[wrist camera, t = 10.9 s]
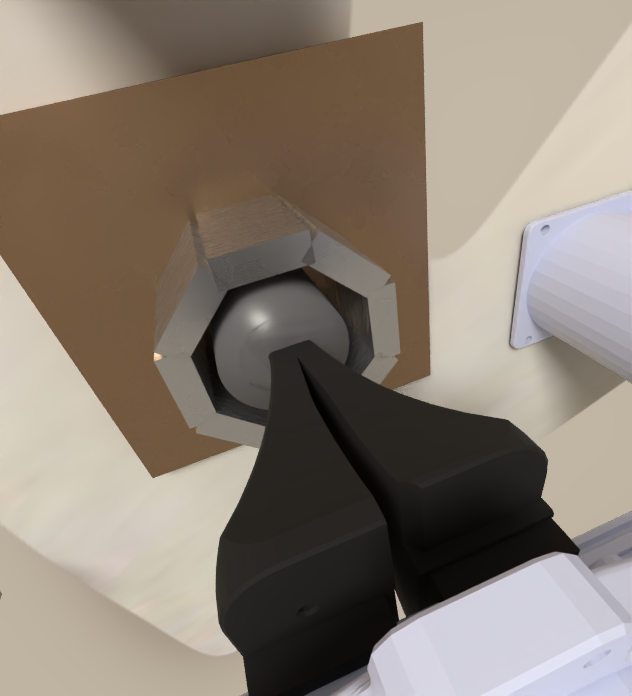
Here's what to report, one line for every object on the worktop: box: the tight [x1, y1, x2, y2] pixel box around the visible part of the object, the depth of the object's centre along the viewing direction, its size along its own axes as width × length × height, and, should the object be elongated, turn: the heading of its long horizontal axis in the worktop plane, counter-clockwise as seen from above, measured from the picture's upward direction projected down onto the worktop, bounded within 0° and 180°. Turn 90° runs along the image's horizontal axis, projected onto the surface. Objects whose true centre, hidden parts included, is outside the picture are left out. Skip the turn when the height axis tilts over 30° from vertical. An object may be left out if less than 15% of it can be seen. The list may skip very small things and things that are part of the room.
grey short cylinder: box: [209, 267, 349, 410], centre depth 15 cm, size 4×4×5 cm
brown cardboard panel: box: [0, 22, 430, 478], centre depth 15 cm, size 16×16×6 cm
